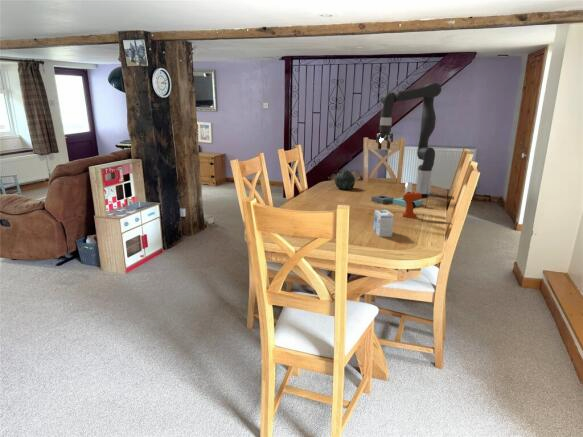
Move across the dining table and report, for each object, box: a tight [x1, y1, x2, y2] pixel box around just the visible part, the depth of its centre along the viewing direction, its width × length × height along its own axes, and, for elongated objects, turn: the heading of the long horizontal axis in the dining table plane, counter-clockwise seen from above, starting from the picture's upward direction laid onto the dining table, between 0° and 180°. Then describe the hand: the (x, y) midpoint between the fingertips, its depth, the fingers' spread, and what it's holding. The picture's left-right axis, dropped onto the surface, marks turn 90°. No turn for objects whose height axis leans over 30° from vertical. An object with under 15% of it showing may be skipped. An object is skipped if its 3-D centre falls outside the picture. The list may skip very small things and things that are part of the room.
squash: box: [334, 170, 356, 191], centre depth 306 cm, size 14×15×15 cm
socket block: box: [370, 194, 395, 205], centre depth 268 cm, size 10×10×3 cm
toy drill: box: [402, 191, 438, 219], centre depth 229 cm, size 5×19×15 cm, turn 75°
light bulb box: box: [373, 209, 395, 238], centre depth 201 cm, size 11×7×11 cm, turn 5°
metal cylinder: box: [404, 181, 413, 194], centre depth 260 cm, size 4×4×14 cm
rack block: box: [392, 196, 424, 208], centre depth 261 cm, size 13×13×3 cm
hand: (383, 149), depth 278 cm, fingers open, 8 cm apart
